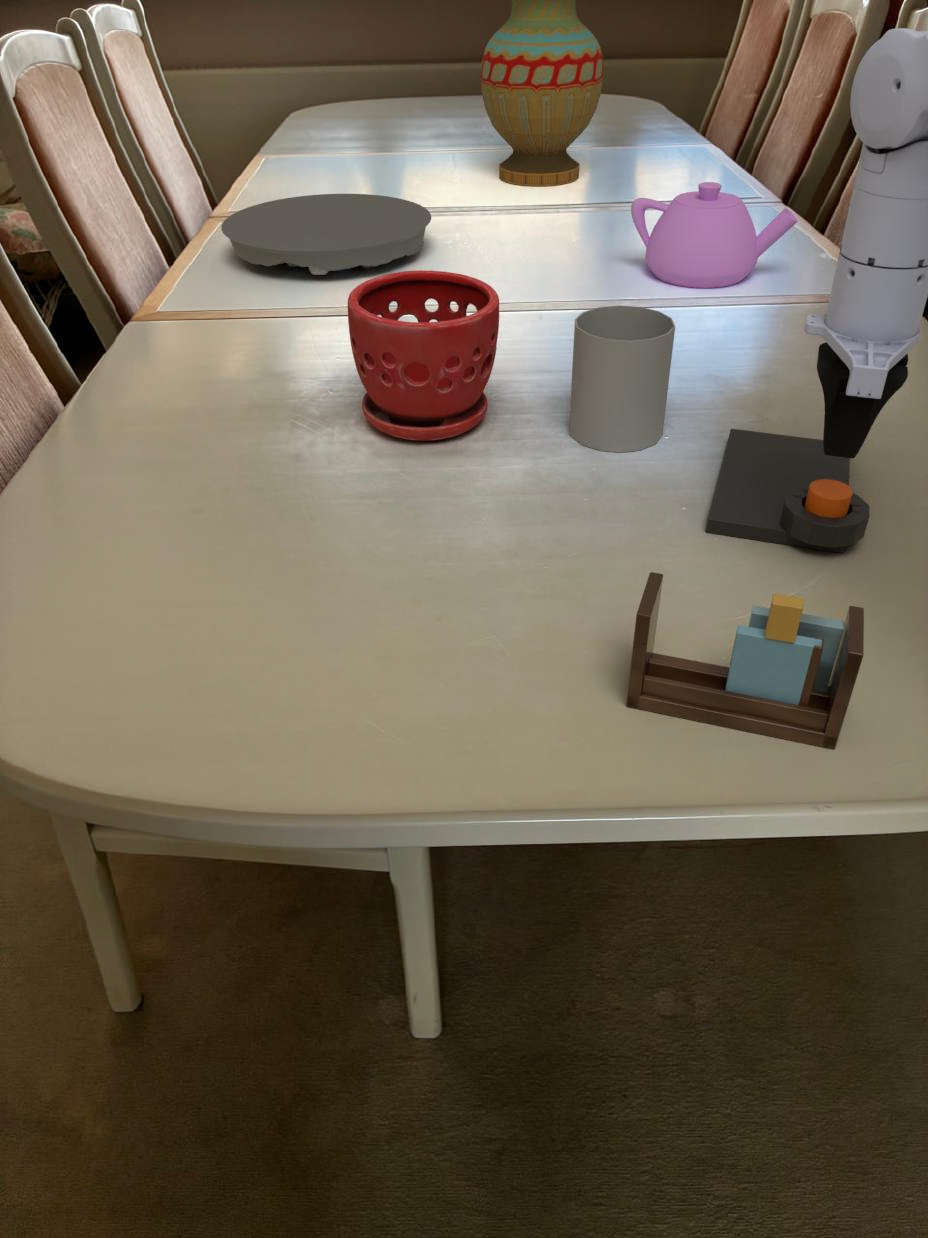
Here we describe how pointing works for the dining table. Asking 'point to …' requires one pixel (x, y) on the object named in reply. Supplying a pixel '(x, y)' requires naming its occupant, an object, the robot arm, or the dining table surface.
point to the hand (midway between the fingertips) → (839, 452)
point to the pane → (776, 656)
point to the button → (828, 498)
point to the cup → (620, 377)
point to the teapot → (705, 237)
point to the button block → (781, 493)
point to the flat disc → (328, 231)
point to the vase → (541, 89)
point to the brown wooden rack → (704, 697)
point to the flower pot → (424, 352)
